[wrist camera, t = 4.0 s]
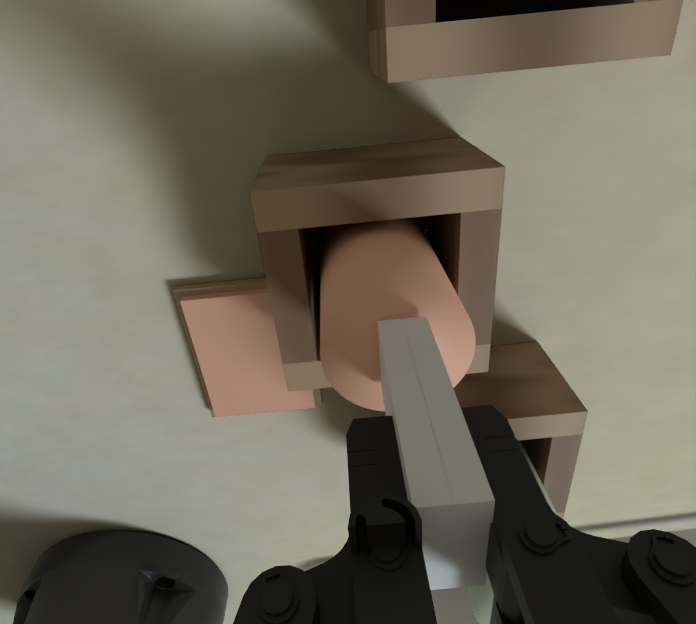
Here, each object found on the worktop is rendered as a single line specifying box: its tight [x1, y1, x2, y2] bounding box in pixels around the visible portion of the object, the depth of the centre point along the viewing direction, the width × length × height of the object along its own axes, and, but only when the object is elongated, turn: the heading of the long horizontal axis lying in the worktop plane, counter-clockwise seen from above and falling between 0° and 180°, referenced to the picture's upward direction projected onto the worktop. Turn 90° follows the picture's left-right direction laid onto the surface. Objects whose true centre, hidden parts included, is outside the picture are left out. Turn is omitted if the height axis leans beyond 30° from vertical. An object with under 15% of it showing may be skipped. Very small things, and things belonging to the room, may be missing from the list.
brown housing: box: [249, 137, 505, 391], centre depth 21 cm, size 9×9×6 cm
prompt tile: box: [173, 277, 323, 417], centre depth 26 cm, size 7×9×1 cm
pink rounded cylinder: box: [320, 217, 476, 411], centre depth 19 cm, size 5×5×9 cm
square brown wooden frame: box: [453, 342, 588, 519], centre depth 27 cm, size 9×9×6 cm
